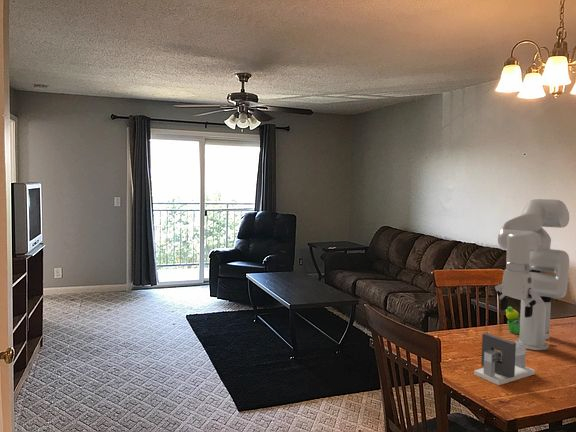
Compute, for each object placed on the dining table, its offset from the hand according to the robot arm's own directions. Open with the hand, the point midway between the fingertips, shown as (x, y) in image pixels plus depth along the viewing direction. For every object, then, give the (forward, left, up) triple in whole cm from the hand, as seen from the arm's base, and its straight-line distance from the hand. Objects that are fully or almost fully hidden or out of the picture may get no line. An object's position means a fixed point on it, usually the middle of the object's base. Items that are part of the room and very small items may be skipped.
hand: (515, 313), depth 167 cm
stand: (+5, 0, -22) cm, 23 cm away
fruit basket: (-44, -30, -22) cm, 57 cm away
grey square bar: (+5, 0, -16) cm, 16 cm away
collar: (+9, 0, -20) cm, 22 cm away
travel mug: (-47, -19, -22) cm, 55 cm away
